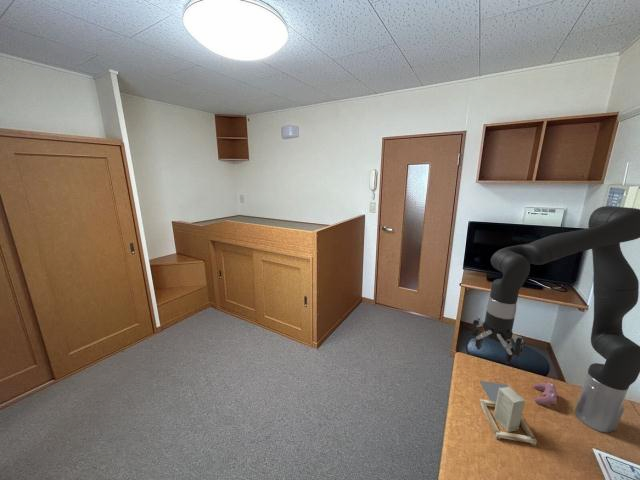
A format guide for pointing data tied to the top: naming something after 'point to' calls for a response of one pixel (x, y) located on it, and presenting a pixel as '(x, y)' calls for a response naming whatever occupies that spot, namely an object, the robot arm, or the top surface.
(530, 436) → the wooden rectangular frame
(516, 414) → the skincare box
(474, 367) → the top surface
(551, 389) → the video game controller
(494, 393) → the coaster
